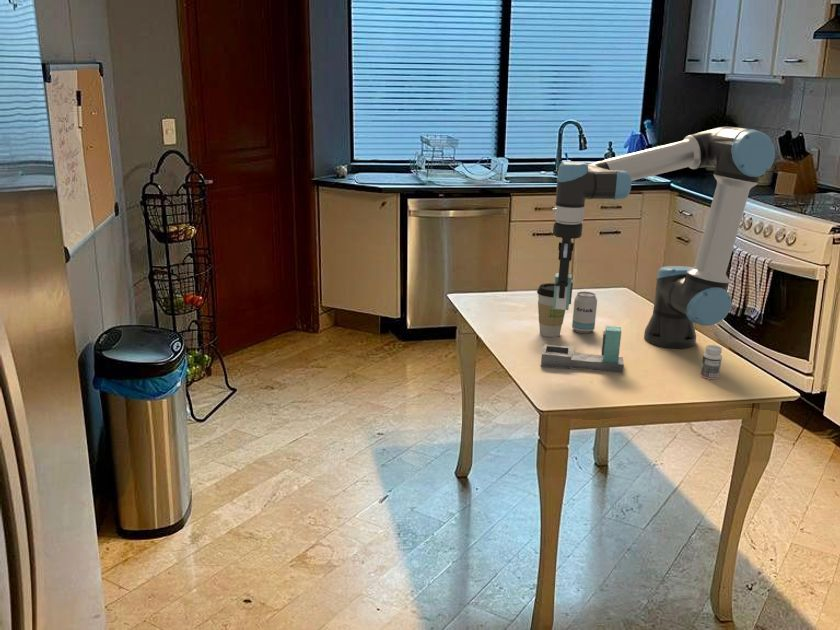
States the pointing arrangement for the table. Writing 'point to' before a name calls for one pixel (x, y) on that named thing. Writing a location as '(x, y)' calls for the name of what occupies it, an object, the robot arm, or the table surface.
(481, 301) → the table surface
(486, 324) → the table surface
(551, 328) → the coffee cup
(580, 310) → the beverage can
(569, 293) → the block
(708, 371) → the pill bottle
